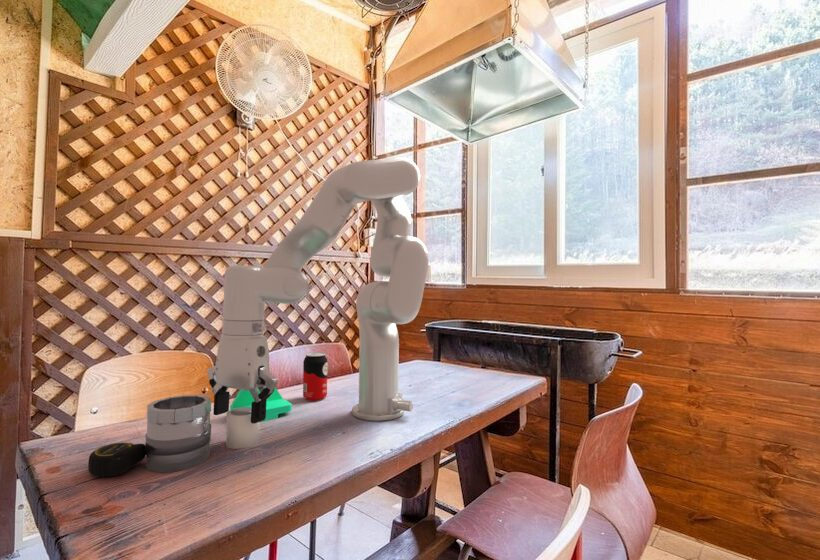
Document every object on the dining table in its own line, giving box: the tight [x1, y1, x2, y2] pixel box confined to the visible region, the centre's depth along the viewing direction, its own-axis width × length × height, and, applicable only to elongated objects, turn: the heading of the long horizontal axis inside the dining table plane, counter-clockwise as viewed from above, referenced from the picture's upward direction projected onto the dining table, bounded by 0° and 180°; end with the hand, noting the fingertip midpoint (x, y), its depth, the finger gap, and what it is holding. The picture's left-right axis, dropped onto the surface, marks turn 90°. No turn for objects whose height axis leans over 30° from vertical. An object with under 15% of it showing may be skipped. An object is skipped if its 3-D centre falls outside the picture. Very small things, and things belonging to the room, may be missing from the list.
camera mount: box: [229, 386, 293, 422], centre depth 95 cm, size 12×8×10 cm, turn 130°
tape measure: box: [87, 442, 147, 478], centre depth 67 cm, size 7×7×4 cm
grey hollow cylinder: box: [144, 394, 212, 473], centre depth 71 cm, size 10×10×10 cm
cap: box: [225, 407, 260, 450], centre depth 79 cm, size 6×6×6 cm
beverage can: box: [302, 351, 328, 402], centre depth 109 cm, size 6×6×12 cm
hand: (239, 417), depth 79 cm, fingers open, 9 cm apart
